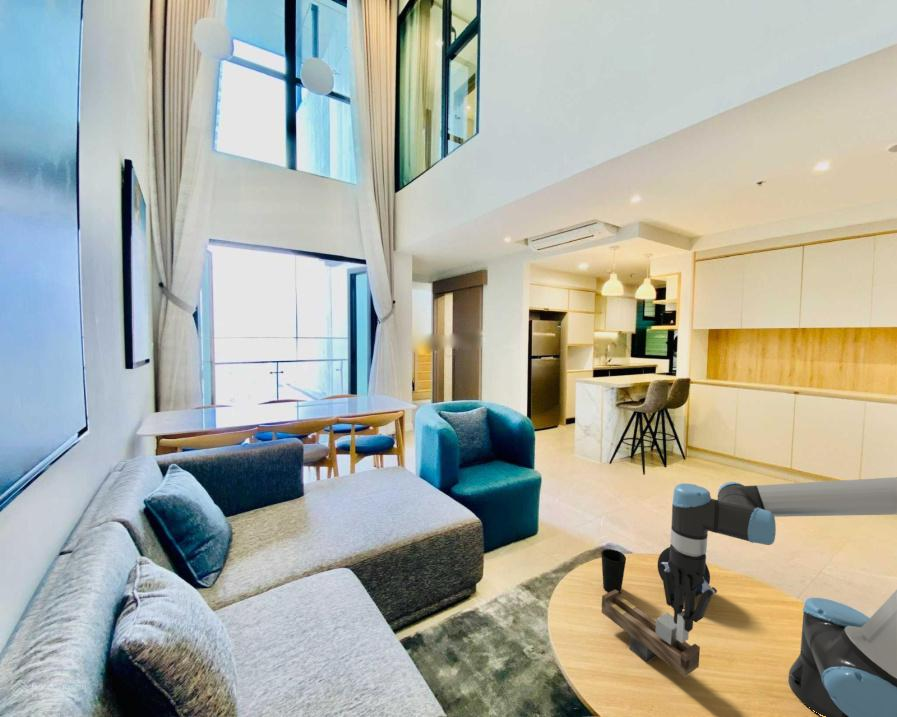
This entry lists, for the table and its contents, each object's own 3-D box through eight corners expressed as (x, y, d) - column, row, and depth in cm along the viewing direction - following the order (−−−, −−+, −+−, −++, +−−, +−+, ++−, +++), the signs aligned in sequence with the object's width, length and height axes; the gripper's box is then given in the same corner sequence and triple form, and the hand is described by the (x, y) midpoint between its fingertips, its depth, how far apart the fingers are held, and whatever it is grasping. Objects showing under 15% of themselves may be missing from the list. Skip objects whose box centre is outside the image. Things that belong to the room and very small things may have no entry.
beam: (698, 681, 94) (700, 646, 94) (683, 693, 91) (685, 657, 90) (614, 617, 115) (615, 589, 114) (600, 625, 112) (601, 595, 111)
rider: (681, 647, 97) (682, 622, 96) (670, 654, 94) (671, 629, 94) (666, 636, 100) (667, 612, 100) (654, 643, 98) (656, 619, 97)
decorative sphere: (695, 614, 117) (698, 568, 116) (647, 587, 129) (649, 545, 128) (717, 596, 125) (719, 553, 124) (670, 572, 138) (672, 532, 137)
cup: (597, 590, 127) (598, 556, 126) (602, 579, 133) (604, 546, 133) (622, 600, 123) (623, 564, 122) (626, 587, 129) (628, 553, 128)
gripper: (725, 558, 89) (718, 652, 90) (670, 532, 100) (665, 616, 102) (708, 567, 85) (702, 665, 87) (653, 539, 96) (648, 626, 98)
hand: (682, 639), depth 94 cm, fingers closed
